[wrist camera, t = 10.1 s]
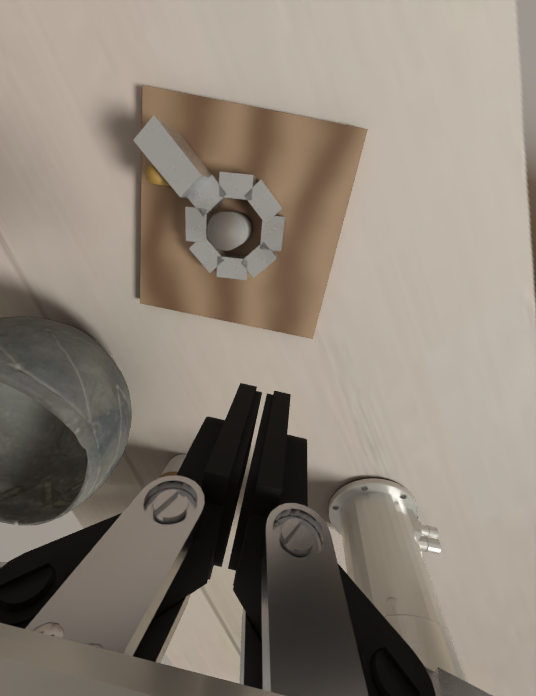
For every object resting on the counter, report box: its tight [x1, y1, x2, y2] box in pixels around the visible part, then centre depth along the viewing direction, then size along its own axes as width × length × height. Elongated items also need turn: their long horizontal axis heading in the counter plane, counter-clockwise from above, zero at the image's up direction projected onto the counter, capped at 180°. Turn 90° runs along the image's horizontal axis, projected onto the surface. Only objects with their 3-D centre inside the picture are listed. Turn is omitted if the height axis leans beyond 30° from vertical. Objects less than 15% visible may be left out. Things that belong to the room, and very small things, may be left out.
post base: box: [140, 85, 368, 339], centre depth 29 cm, size 20×20×7 cm
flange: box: [133, 115, 285, 280], centre depth 28 cm, size 9×14×5 cm, turn 40°
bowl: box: [0, 317, 132, 525], centre depth 35 cm, size 21×21×15 cm
